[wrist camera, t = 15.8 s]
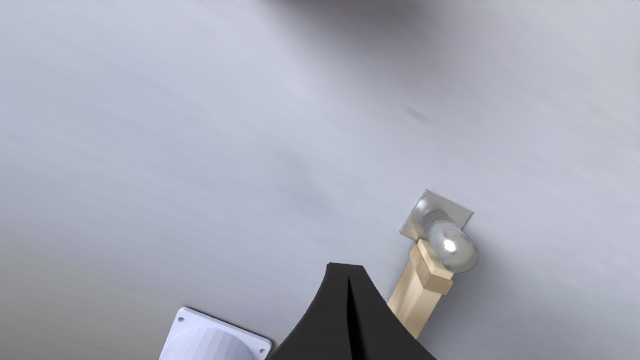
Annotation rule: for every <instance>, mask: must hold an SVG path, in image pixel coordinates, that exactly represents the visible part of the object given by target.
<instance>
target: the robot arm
mask: <svg viewBox="0 0 640 360" xmlns="http://www.w3.org/2000/svg"><path fill="white" fill-rule="evenodd" d="M181 317H182V318H181ZM183 318H184V319H183ZM271 345H272V343H271V341H270V340H268V339H266V338H263V337H261V336H258V335H256V334H253V333H250V332H248V331H245V330H243V329H240V328H238V327H235V326H233V325H230V324H228V323H225V322H222V321H220V320H217V319H215V318H212V317H210V316H207V315H205V314H202V313H200V312H197V311H194V310H192V309H189V308H187V307H182V308H180V309H179V311H178V312H177V315H176V317H175V320H174V322H173V325H172V327H171V330H170V333H169V335H168V338H167V340H166V343H165V345H164V348H163V350H162V353H161V355H160V358H159V360H265V358H266V356H267V355H268V353H269V351H270V349H271ZM263 349H264V350H263ZM266 360H436V359H435V358H434V357H433V356H432V355H431V354H430V353H429V352H428V351H427V350H426V349H425V348H424V347H423V346H422V345H421V344H420V343H419V342H418V341H417V340H416V339H415V338H414V337H413V336H412V335H411V334H410V333H409V331H408V330H407V329H406V328H405V327H404V326H403V324H402V323H401V322H400V321H399V319H398V318H397V317H396V316H395V314H394V313H393V312H392V310H391V309H390V308H389V306H388V305H387V303H386V302H385V301H384V299H383V298H382V296H381V295H380V293H379V292H378V290H377V289H376V287H375V286H374V284H373V282H372V281H371V279H370V277H369V276H368V274H367V272H366V270H365V269H364V267H363V266H361V265H351V264H341V263H331V262H330V263H329V264H327V268H326V273H325V276H324V279H323V281H322V284H321V286H320V288H319V290H318V292H317V294H316V296H315V298H314V300H313V301H312V303H311V305H310V306H309V308H308V310H307V311H306V313H305V314H304V316H303V317H302V319H301V320H300V321H299V323H298V324H297V325H296V327H295V328H294V329H293V331H292V332H291V333H290V334H289V336H288V337H287V338H286V339H285V340H284V341H283V343H282V344H281V345H280V346H279V347H278V348H277V349H276V350H275V351H274V352H273V353H272V354H271V355H270V356H269V357H268V358H267V359H266Z"/></svg>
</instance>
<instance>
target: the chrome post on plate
mask: <svg viewBox="0 0 640 360" xmlns="http://www.w3.org/2000/svg"><path fill="white" fill-rule="evenodd" d="M472 213H473V212H472V211H471V210H469V209H466V208H464V207H462V206H460V205H458V204H456V203H454V202H452V201H450V200H447V199H445V198H443V197H441V196H439V195H437V194H435V193H433V192H431V191H429V190H425V192H424V193H423V195H422V196H421V198H420V200H419V201H418V203H417V204H416V206H415V208H414V209H413V211H412V212H411V214H410V215H409V217H408V219H407V220H406V222H405V223H404V225H403V227H402V228H401V230H400V231H399V233H400V234H402V235H404V236H407V237H409V238H411V239H413V240H415V241H419V239H423V240H426V241H429V242H430V243H431V245H432V247H433V249H434V250H435V252H436V254H437V255H438V257H439V259H440V261H441V262H442V264H443V266H444V267H445V268H446V269H447V270H448V271H451V272H454V273H462V272H466V271H468V270H470V269H471V268H473V267H474V265H475V264H476V263H477V260H478V251H477V249H476V248H475V246H474V245H473V244H472V243H471V242H470V240H469V239H468V238H467V237H466V236H465V234H464V233H463V232H462V231H461V228H462V227H463V225H464V224H465V222H466V221H467V220H468V218H469V217H470V215H471V214H472Z"/></svg>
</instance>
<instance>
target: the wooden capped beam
mask: <svg viewBox="0 0 640 360" xmlns="http://www.w3.org/2000/svg"><path fill="white" fill-rule="evenodd" d="M409 256H410V259H409V261H408V263H407V265H406V267H405V269H404V271H403V273H402V275H401V277H400V279H399V281H398V283H397V285H396V287H395V289H394V291H393V293H392V295H391V297H390V299H389V301H388V303H387V305H388V306H389V308H390V309H391V310H392V312H393V313H394V314H395V316H396V317H397V318H398V319H399V321H400V322H401V323H402V324H403V326H404V327H405V328H406V329H407V330H408V331H409V333H410V334H411V335H412V336H413V337H414V338H415V339H417V337H418V335H419V334H420V332H421V330H422V328H423V327H424V325H425V323H426V321H427V320H428V318H429V316H430V314H431V313H432V311H433V309H434V307H435V305H436V304H437V302H438V300H439V298H440V297H441V295H447V293H448V292H449V290H450V288H451V286H452V285H453V281H452V279H451V277H452V276H453V274H454V273H453V272H451V271H448V270H447V269H446V268H445V267H444V266H443V264H442V262H441V261H440V259H439V257H438V255H437V254H436V252H435V250H434V249H433V247H432V245H431V243H430V242H429V241H426V240H423V239H419V241H418V243H414V244H413V246H412V248H411V250H410V252H409Z"/></svg>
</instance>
